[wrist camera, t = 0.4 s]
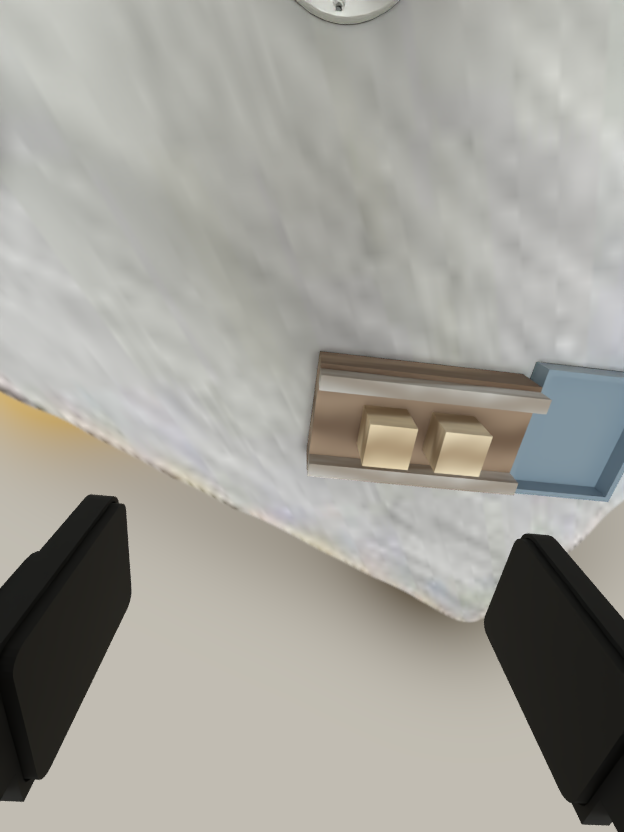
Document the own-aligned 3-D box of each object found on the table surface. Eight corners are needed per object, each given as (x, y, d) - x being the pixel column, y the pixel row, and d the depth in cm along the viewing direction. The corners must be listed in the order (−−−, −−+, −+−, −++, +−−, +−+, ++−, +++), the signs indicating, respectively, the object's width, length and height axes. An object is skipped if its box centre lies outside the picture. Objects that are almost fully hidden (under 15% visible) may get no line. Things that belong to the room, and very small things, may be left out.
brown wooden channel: (319, 351, 42) (321, 369, 37) (522, 374, 43) (553, 395, 38) (306, 450, 47) (306, 480, 42) (489, 468, 48) (512, 499, 43)
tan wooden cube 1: (364, 404, 40) (370, 424, 36) (407, 409, 41) (418, 429, 37) (356, 443, 42) (362, 465, 38) (398, 447, 42) (407, 470, 38)
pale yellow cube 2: (432, 411, 41) (446, 432, 37) (474, 416, 41) (492, 436, 37) (422, 449, 43) (434, 472, 39) (462, 453, 43) (478, 477, 39)
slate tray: (536, 361, 43) (549, 369, 41) (651, 375, 44) (670, 383, 41) (493, 479, 49) (502, 492, 47) (594, 489, 50) (608, 501, 48)
